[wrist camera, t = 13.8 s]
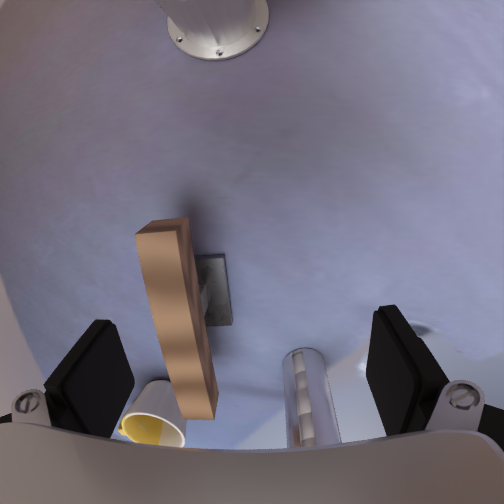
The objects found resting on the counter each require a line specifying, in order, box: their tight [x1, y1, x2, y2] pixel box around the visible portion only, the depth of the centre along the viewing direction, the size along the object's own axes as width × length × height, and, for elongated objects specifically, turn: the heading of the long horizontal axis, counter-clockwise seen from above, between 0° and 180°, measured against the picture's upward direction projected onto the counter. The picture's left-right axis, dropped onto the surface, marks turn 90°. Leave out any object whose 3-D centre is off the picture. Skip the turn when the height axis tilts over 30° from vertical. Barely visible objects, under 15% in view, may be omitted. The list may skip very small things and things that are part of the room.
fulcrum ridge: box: [194, 254, 233, 326], centre depth 40 cm, size 10×8×8 cm
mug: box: [118, 380, 186, 447], centre depth 46 cm, size 14×10×10 cm
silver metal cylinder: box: [283, 348, 342, 448], centre depth 36 cm, size 6×6×25 cm
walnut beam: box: [135, 217, 219, 420], centre depth 34 cm, size 24×4×5 cm, turn 5°
